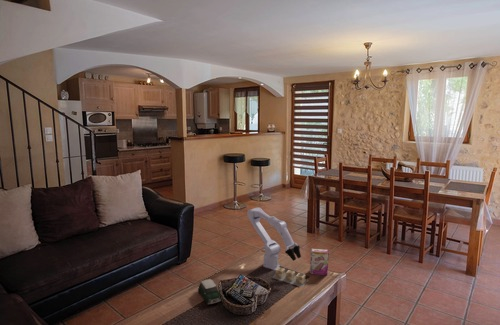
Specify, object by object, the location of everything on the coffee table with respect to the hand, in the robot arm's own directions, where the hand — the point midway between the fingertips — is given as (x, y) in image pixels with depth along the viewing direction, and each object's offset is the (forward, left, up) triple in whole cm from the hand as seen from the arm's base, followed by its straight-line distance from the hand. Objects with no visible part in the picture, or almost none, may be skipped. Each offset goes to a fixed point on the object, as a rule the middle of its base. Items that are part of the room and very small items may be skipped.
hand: (297, 258), depth 198 cm
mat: (-3, -3, -14) cm, 14 cm away
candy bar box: (+10, +14, -14) cm, 22 cm away
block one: (-10, -3, -13) cm, 17 cm away
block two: (+4, -3, -13) cm, 14 cm away
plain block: (-3, -3, -13) cm, 14 cm away
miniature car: (-35, -45, -14) cm, 59 cm away
